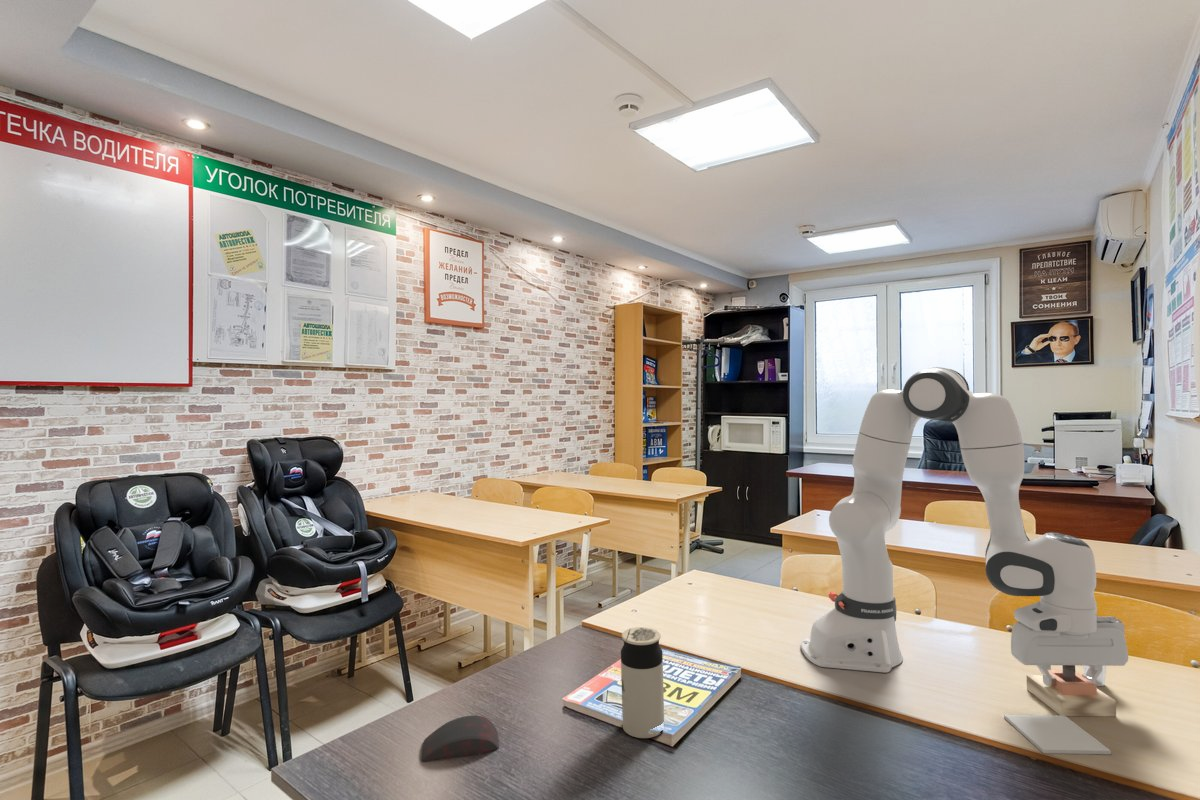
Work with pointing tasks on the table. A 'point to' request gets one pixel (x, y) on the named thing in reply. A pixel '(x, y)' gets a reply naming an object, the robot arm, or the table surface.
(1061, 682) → the pink rectangular frame
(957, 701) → the table surface
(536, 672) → the table surface
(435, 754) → the computer mouse
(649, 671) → the travel mug
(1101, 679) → the milkshake
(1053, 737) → the mat
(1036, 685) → the peg stand
